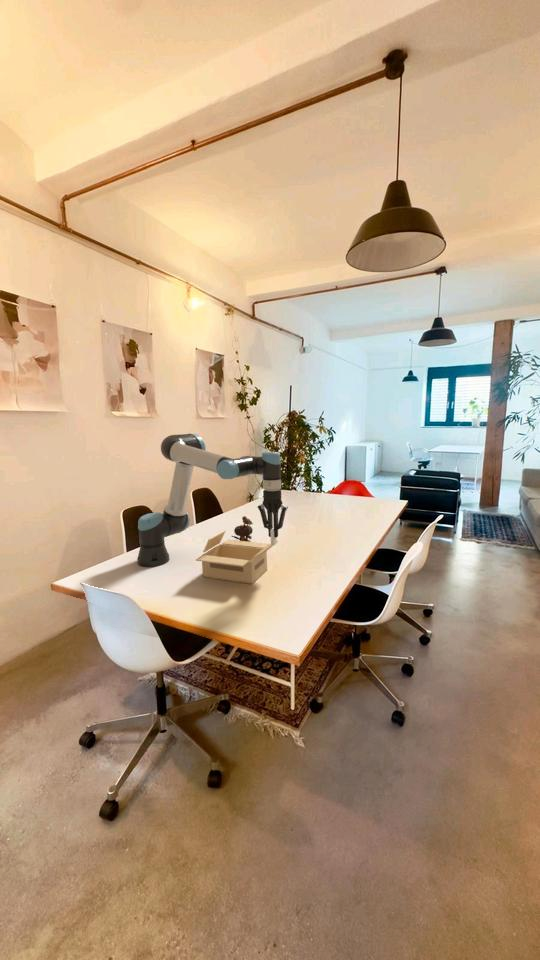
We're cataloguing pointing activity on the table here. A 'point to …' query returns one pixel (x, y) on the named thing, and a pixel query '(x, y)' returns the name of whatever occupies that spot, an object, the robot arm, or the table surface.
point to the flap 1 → (214, 541)
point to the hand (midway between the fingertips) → (273, 544)
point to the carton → (235, 561)
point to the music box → (244, 530)
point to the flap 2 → (263, 550)
